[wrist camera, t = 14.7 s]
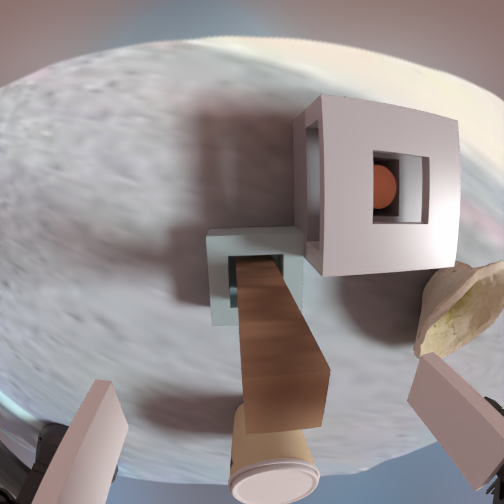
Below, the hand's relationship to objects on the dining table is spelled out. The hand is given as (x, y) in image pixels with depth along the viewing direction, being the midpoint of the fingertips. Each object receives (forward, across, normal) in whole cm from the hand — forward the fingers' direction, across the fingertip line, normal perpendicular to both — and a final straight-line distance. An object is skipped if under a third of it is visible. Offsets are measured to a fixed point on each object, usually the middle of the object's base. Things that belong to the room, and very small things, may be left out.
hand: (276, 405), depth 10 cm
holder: (+19, +1, 0) cm, 19 cm away
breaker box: (+18, +11, +8) cm, 23 cm away
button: (+18, +11, +8) cm, 22 cm away
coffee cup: (+19, +2, -20) cm, 27 cm away
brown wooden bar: (+18, +1, 0) cm, 18 cm away
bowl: (+18, +24, -5) cm, 30 cm away
